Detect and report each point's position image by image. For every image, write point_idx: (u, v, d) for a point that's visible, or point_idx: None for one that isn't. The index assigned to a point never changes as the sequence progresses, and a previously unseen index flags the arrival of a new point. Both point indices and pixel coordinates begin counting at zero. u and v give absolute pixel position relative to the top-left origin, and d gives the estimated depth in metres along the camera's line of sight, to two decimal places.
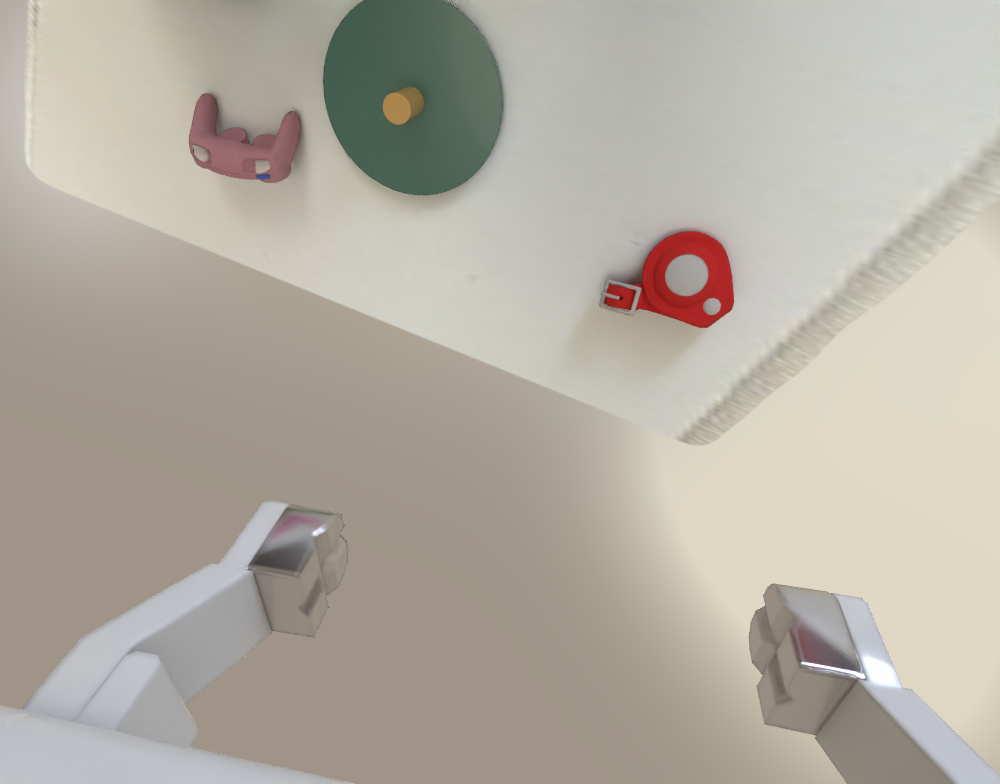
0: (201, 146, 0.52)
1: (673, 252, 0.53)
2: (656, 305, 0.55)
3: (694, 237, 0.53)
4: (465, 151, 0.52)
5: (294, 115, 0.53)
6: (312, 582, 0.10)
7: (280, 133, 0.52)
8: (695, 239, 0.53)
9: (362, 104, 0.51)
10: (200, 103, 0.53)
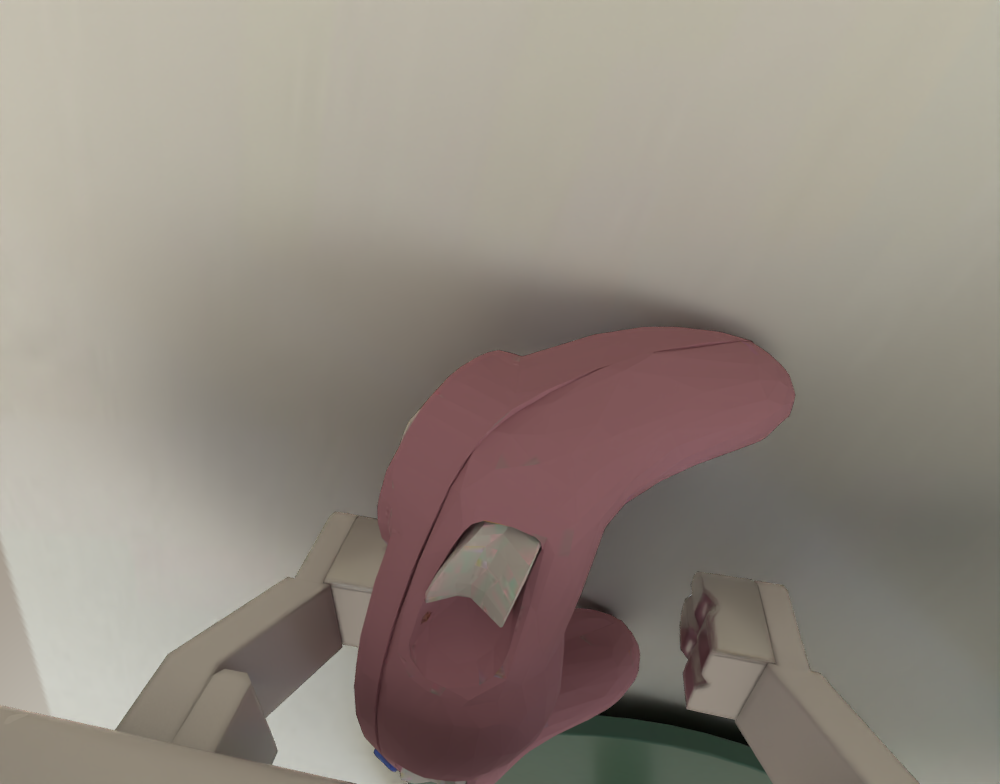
0: (523, 595, 0.07)
1: None
2: None
3: None
4: None
5: None
6: None
7: (572, 723, 0.13)
8: None
9: None
10: (763, 434, 0.08)
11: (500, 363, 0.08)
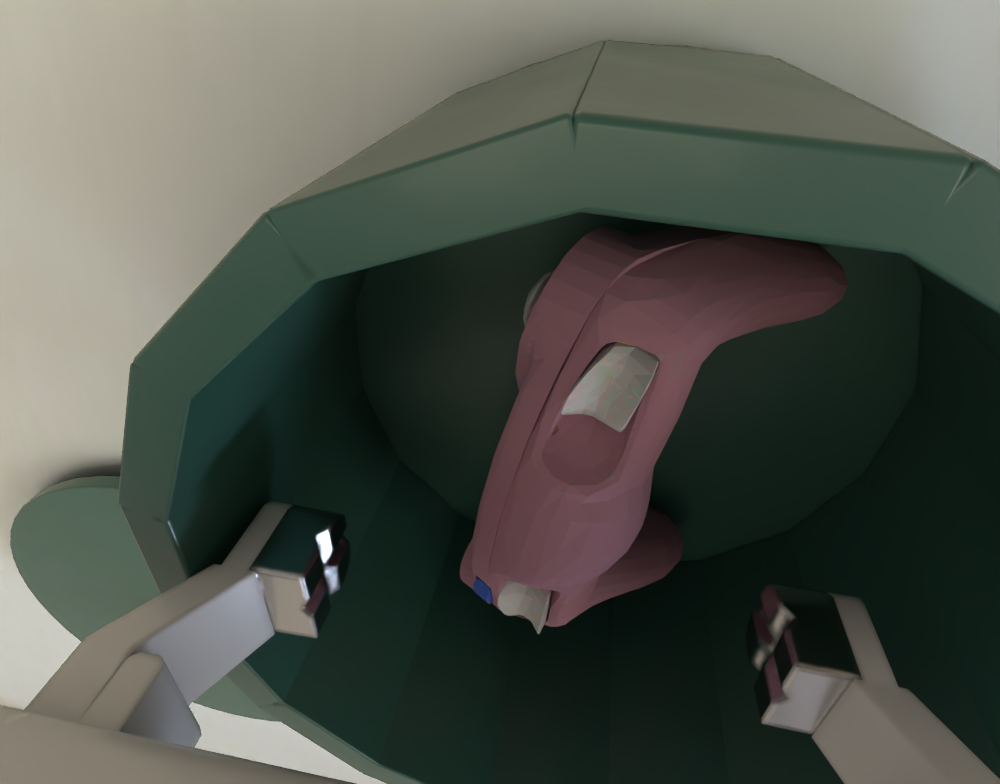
0: (638, 409, 0.09)
1: None
2: None
3: None
4: None
5: None
6: (315, 582, 0.10)
7: (628, 587, 0.15)
8: None
9: None
10: (823, 307, 0.10)
11: (618, 232, 0.10)
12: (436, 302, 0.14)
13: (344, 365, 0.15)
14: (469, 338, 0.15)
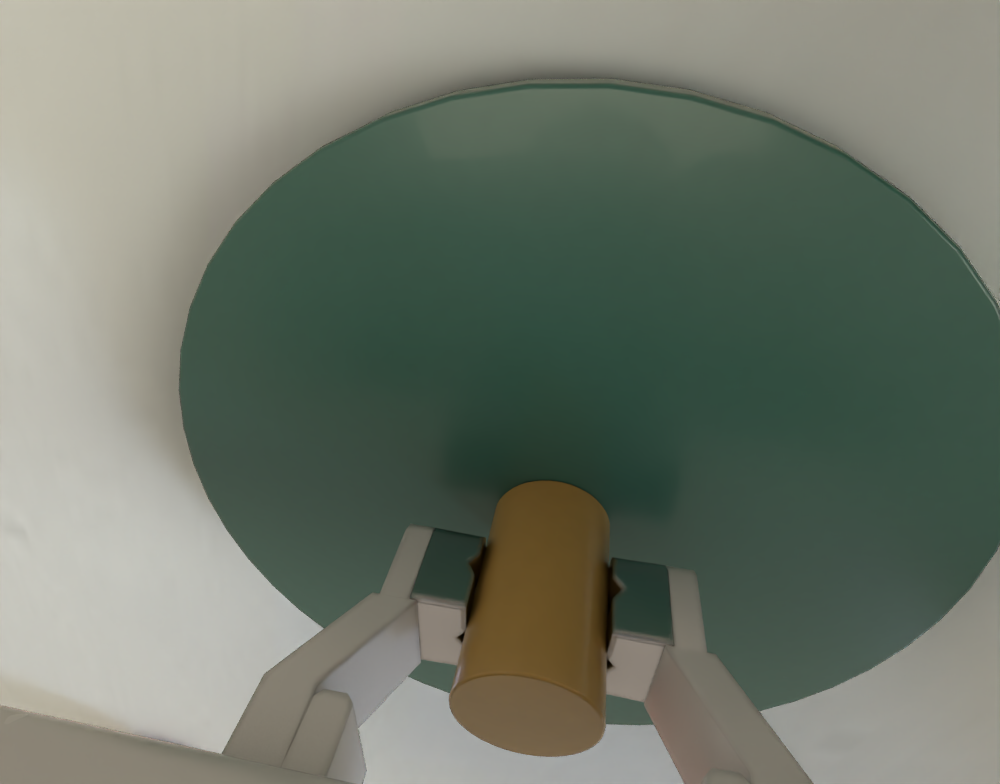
0: None
1: None
2: None
3: None
4: None
5: None
6: (470, 610, 0.10)
7: None
8: None
9: (545, 326, 0.09)
10: None
11: None
12: None
13: None
14: None
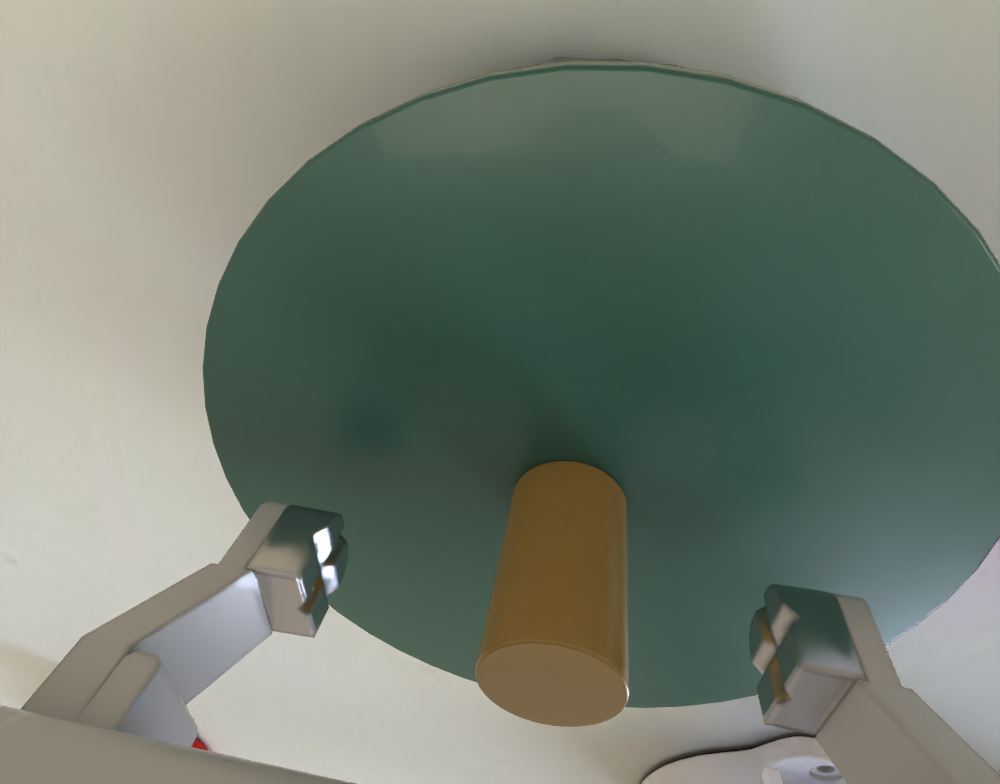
0: None
1: None
2: None
3: None
4: (405, 610, 0.15)
5: None
6: (312, 582, 0.10)
7: None
8: None
9: (572, 306, 0.10)
10: None
11: None
12: None
13: None
14: None
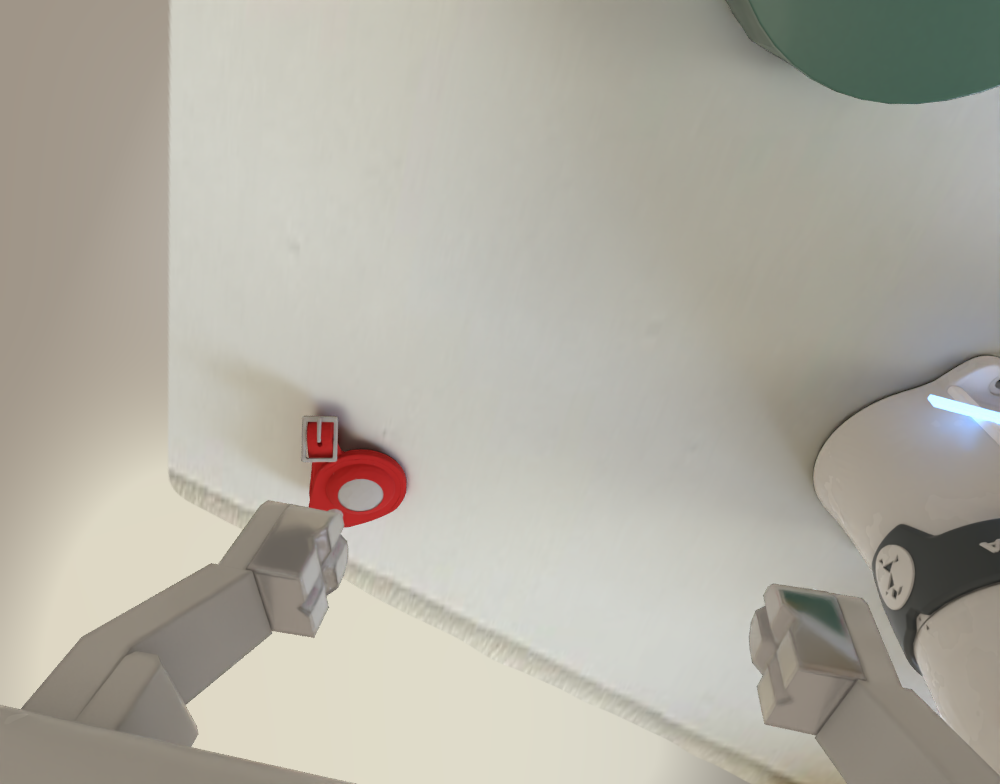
0: None
1: (382, 479, 0.50)
2: (321, 473, 0.49)
3: (400, 487, 0.51)
4: (820, 2, 0.22)
5: None
6: (312, 582, 0.10)
7: None
8: (398, 488, 0.51)
9: None
10: None
11: None
12: None
13: None
14: None
